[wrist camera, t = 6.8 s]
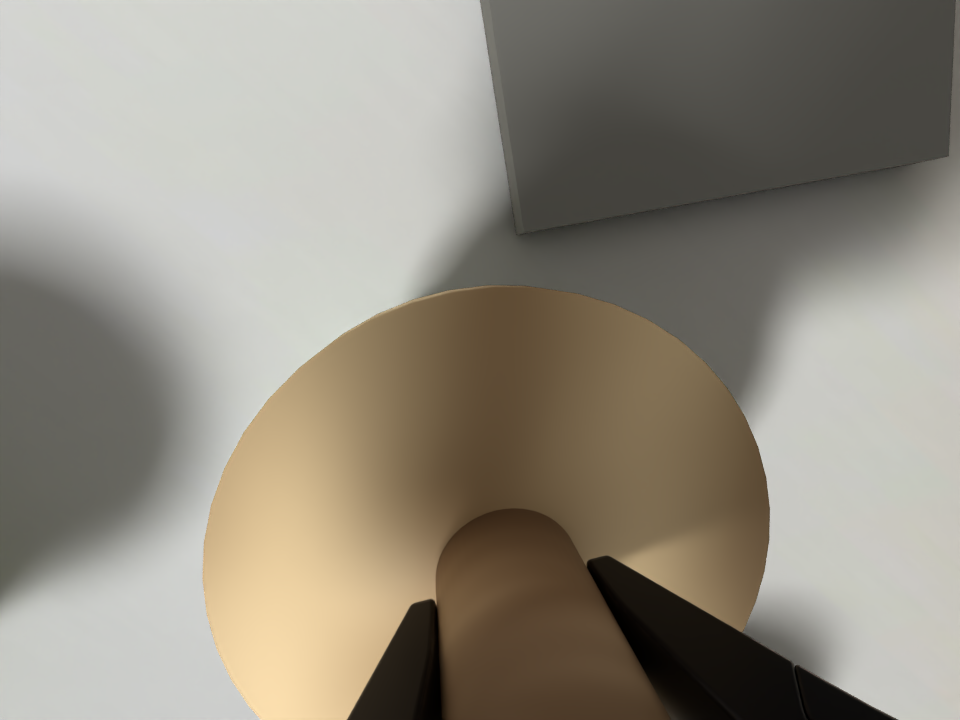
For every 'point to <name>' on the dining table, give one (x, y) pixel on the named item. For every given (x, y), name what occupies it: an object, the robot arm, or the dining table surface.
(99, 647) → the dining table surface
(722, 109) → the mat
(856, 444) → the dining table surface
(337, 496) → the lid
